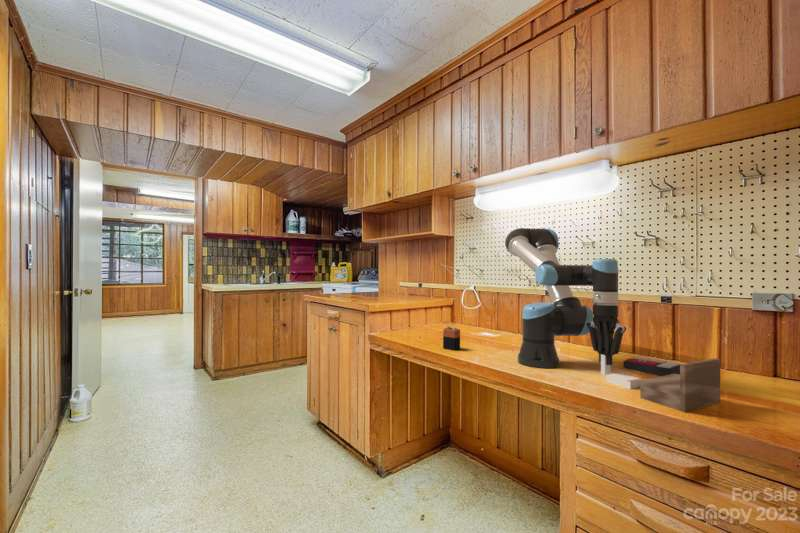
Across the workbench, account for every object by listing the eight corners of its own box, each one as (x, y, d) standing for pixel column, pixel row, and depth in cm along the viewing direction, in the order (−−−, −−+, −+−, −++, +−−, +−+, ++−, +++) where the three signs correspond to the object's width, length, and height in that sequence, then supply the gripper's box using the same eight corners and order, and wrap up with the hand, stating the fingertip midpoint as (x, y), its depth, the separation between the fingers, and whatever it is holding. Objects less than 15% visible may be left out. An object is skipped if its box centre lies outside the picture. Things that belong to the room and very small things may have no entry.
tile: (605, 382, 117) (605, 374, 117) (619, 380, 119) (619, 372, 119) (630, 390, 109) (630, 381, 109) (644, 387, 112) (644, 378, 112)
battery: (448, 347, 166) (448, 325, 166) (460, 349, 162) (460, 327, 162) (442, 348, 163) (442, 326, 163) (455, 350, 158) (455, 328, 158)
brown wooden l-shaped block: (640, 397, 102) (640, 355, 102) (675, 389, 109) (675, 350, 109) (685, 412, 92) (685, 365, 92) (720, 402, 99) (720, 359, 99)
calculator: (637, 355, 139) (683, 362, 126) (637, 366, 139) (684, 374, 126) (622, 359, 133) (669, 366, 120) (623, 370, 133) (670, 379, 120)
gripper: (580, 302, 125) (581, 370, 125) (616, 306, 113) (617, 380, 113) (595, 302, 128) (595, 368, 128) (631, 305, 116) (632, 377, 116)
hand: (605, 373), depth 120 cm, fingers closed
